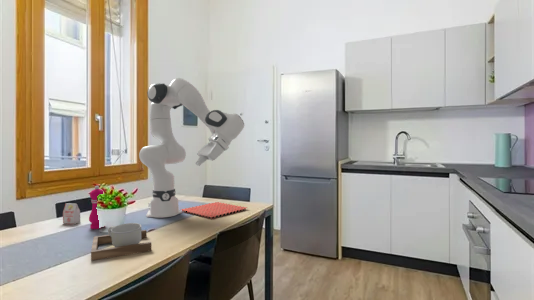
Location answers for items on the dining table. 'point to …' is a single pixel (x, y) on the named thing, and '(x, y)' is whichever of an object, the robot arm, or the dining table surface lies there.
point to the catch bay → (119, 250)
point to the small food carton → (71, 214)
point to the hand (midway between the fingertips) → (197, 164)
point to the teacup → (125, 234)
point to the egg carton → (213, 209)
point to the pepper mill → (94, 208)
